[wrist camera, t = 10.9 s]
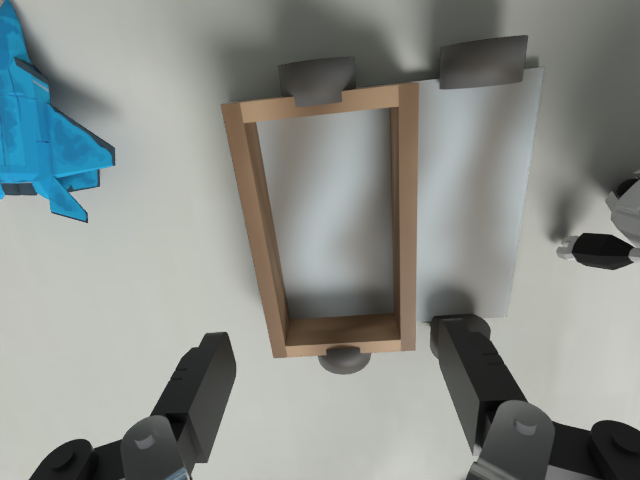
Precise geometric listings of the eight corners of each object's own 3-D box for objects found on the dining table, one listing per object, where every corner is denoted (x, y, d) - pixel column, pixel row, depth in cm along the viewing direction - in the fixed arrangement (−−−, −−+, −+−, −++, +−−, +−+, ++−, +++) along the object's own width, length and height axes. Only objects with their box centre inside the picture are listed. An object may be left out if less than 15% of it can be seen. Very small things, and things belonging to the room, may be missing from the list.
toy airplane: (161, 169, 23) (130, 186, 19) (66, 244, 25) (20, 273, 21) (9, -3, 19) (-69, -25, 15) (-88, 104, 21) (-177, 108, 18)
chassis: (543, 36, 19) (592, 26, 15) (501, 327, 27) (527, 365, 24) (224, 74, 20) (201, 73, 17) (277, 340, 29) (269, 378, 25)
